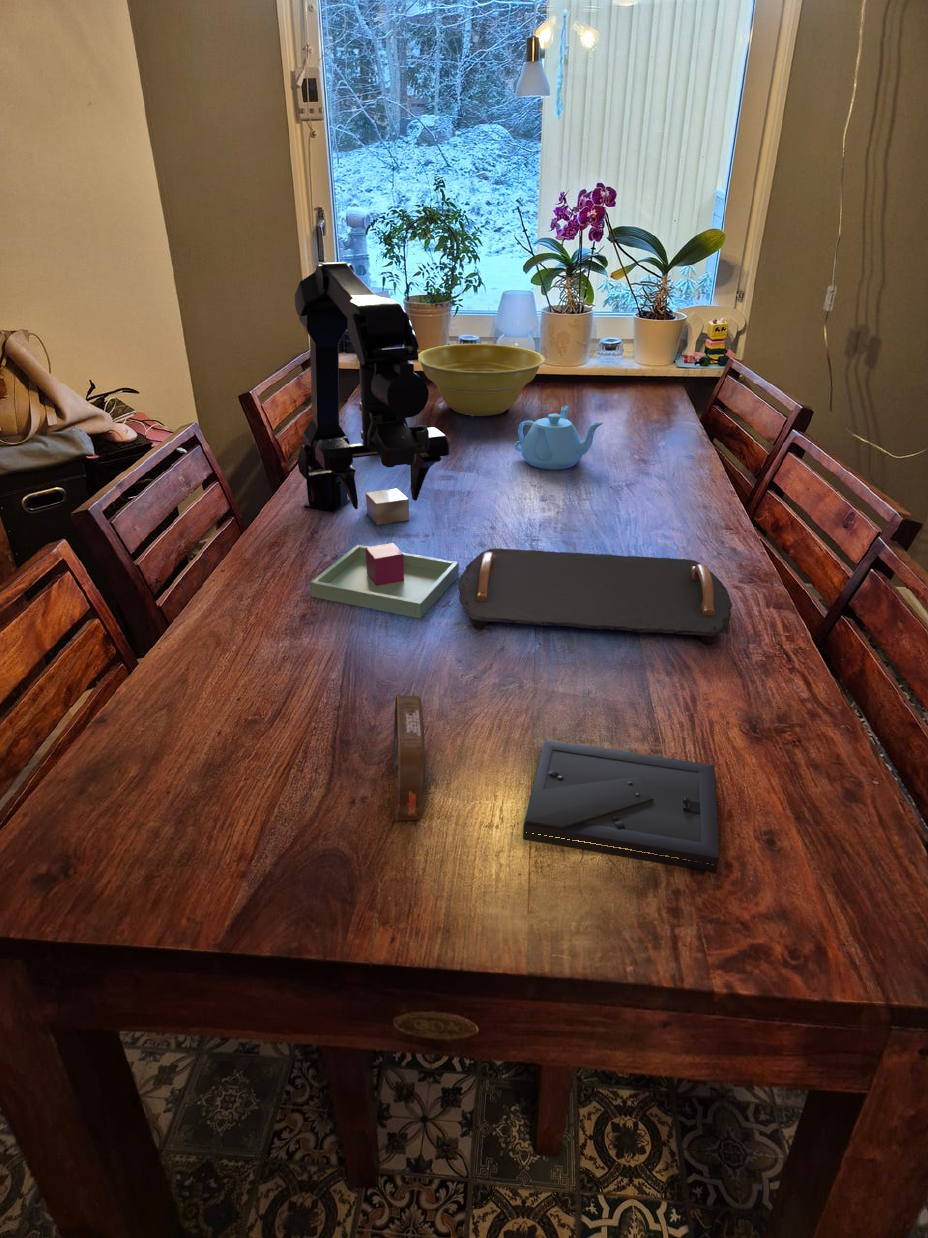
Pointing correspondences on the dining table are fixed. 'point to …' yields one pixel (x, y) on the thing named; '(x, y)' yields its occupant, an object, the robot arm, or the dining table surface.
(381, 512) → the birch block
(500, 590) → the serving tray
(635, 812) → the picture frame
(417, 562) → the green tray
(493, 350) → the planter bowl
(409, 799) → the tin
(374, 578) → the mulberry block
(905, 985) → the dining table surface
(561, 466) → the teapot
